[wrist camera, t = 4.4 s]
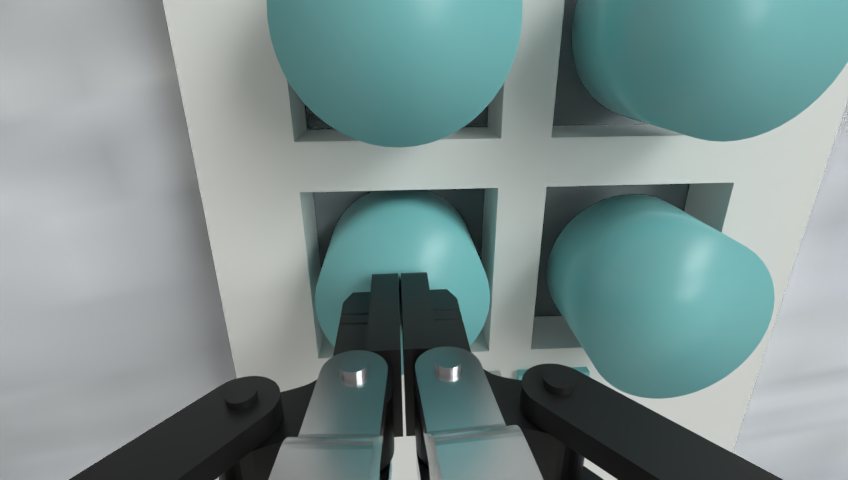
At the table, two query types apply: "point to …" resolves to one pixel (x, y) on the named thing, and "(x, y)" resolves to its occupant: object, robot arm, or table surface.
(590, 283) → the button
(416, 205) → the button
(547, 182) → the board
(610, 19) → the button
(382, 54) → the button
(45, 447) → the table surface
